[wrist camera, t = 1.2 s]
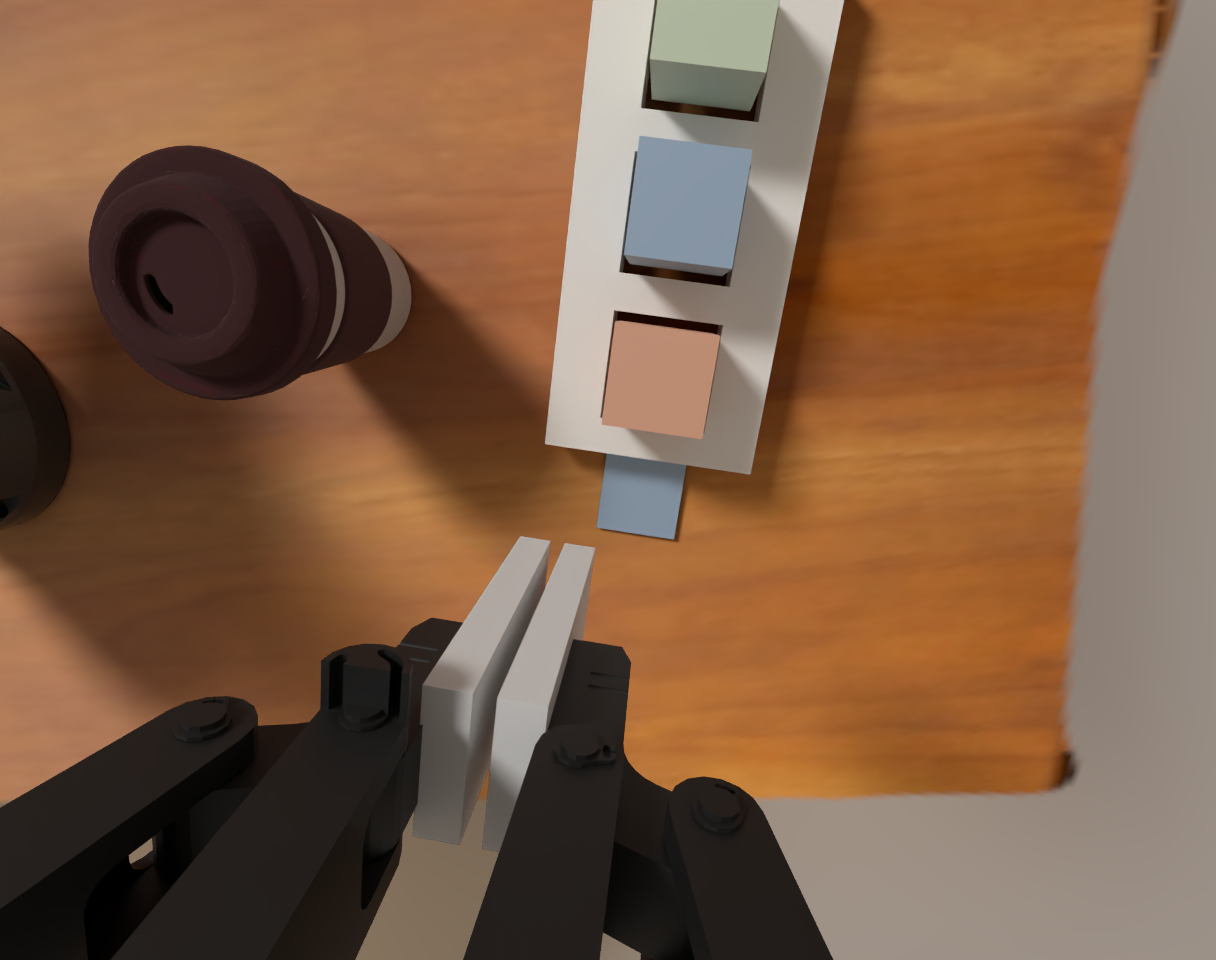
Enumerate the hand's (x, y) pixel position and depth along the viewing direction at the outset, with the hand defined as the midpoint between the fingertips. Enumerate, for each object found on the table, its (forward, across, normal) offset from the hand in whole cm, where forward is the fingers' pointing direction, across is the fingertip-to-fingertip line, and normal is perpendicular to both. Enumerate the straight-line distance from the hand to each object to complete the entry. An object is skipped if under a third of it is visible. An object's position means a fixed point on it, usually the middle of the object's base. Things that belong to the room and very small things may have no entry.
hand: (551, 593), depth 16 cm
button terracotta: (+22, +2, +4) cm, 22 cm away
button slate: (+22, +2, +12) cm, 25 cm away
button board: (+24, +2, +12) cm, 27 cm away
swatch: (+24, +2, -4) cm, 25 cm away
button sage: (+22, +2, +20) cm, 30 cm away
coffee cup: (+25, -17, +6) cm, 31 cm away
